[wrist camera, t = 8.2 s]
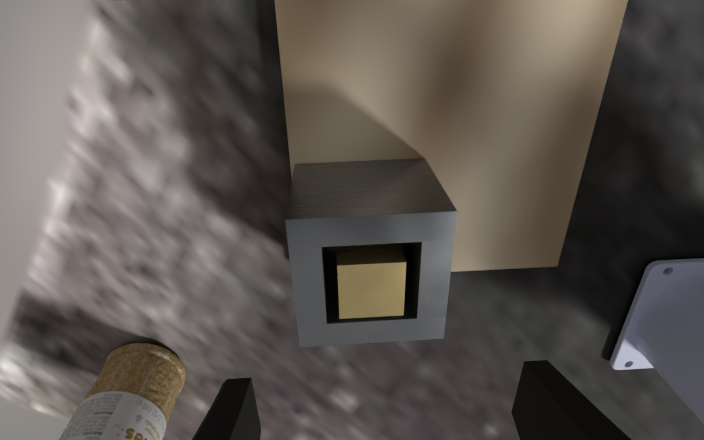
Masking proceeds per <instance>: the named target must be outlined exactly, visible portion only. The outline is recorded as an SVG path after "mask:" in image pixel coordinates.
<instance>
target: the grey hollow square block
mask: <svg viewBox="0 0 704 440" xmlns="http://www.w3.org/2000/svg"><path fill="white" fill-rule="evenodd" d="M456 220H457V210H456V208H455V206H454V205H453V203H452V202H451V200H450V198H449V197H448V195H447V193H446V192H445V190H444V188H443V187H442V185H441V184H440V182H439V180H438V179H437V177H436V175H435V174H434V172H433V170H432V169H431V167H430V165H429V164H428V162H427V161H426V159H425V158H414V159H391V160H369V161H346V162H324V163H301V164H295V165H294V171H293V176H292V182H291V188H290V194H289V199H288V205H287V211H286V217H285V225H286V233H287V242H288V250H289V259H290V267H291V276H292V285H293V293H294V302H295V310H296V319H297V327H298V336H299V344H300V347H312V346H328V345H345V344H361V343H377V342H393V341H410V340H426V339H442V338H444V330H445V321H446V312H447V302H448V293H449V284H450V275H451V266H452V257H453V247H454V238H455V229H456ZM389 243H401V246H402V249H403V253H404V256H405V259H406V280H405V298H404V315H401V316H383V317H364V318H346V319H339V297H338V276H337V254H336V251H326V247H332V246H351V245H370V244H389Z"/></svg>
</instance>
